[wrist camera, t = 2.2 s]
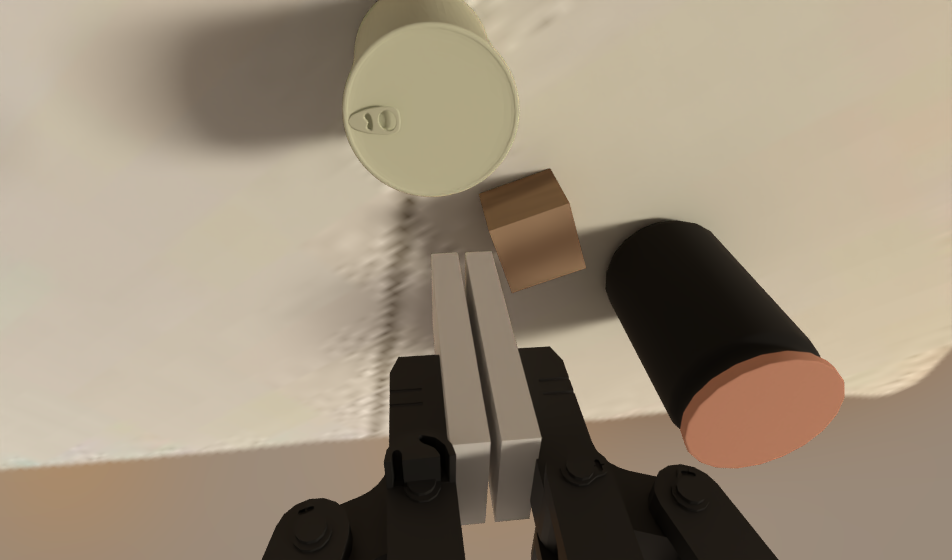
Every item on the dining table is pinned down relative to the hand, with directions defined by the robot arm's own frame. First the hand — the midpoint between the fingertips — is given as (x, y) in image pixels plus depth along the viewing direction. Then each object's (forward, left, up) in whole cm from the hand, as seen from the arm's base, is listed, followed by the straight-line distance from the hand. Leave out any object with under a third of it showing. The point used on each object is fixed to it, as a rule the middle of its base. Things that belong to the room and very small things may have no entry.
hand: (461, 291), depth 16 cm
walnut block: (+12, +8, -27) cm, 30 cm away
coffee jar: (+18, +21, -27) cm, 38 cm away
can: (0, 0, -27) cm, 27 cm away
